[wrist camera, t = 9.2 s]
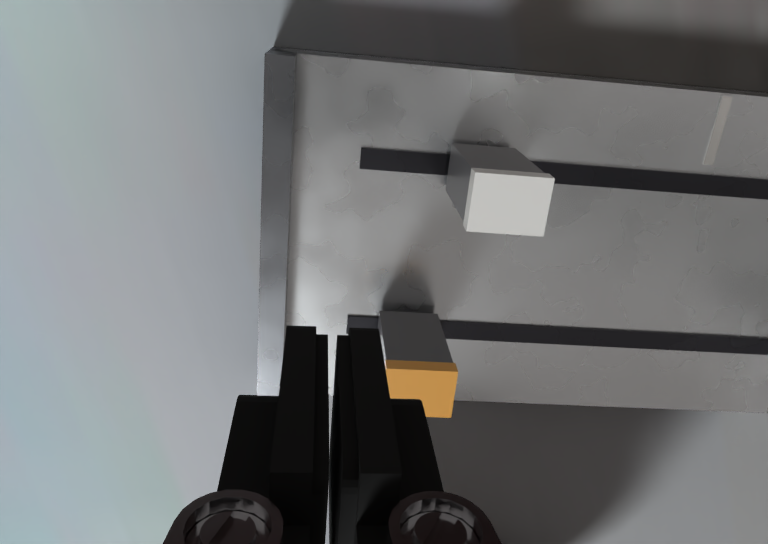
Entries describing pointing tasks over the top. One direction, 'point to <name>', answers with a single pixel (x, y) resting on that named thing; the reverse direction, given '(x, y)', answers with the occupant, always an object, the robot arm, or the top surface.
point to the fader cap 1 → (418, 360)
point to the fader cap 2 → (498, 190)
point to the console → (521, 252)
